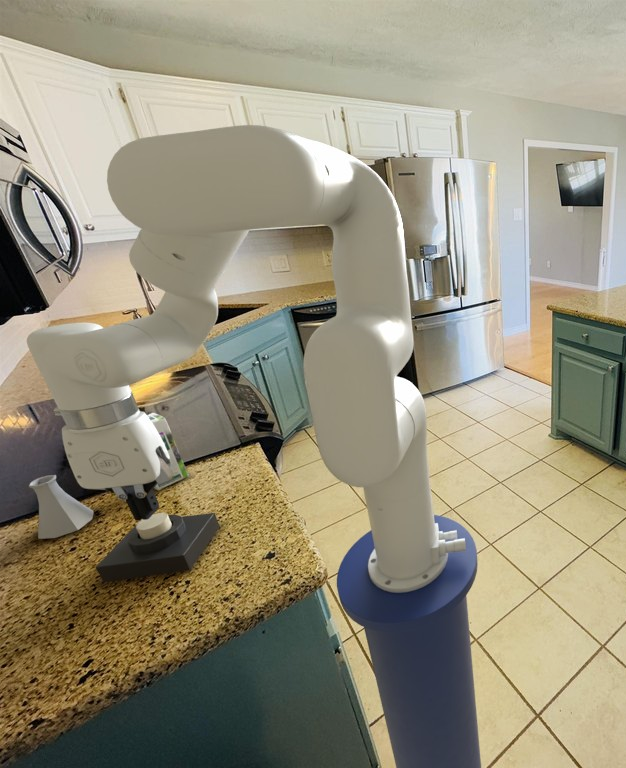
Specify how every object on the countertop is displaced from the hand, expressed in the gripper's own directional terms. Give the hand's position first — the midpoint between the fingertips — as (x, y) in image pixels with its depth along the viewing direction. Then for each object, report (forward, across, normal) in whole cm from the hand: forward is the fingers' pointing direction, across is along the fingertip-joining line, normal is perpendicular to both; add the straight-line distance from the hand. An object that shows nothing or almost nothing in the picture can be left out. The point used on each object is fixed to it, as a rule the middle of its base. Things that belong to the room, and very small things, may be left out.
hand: (147, 514), depth 65 cm
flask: (+8, -22, +11) cm, 26 cm away
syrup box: (+8, -12, +23) cm, 27 cm away
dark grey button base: (+8, 0, 0) cm, 8 cm away
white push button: (+3, 0, 0) cm, 3 cm away
